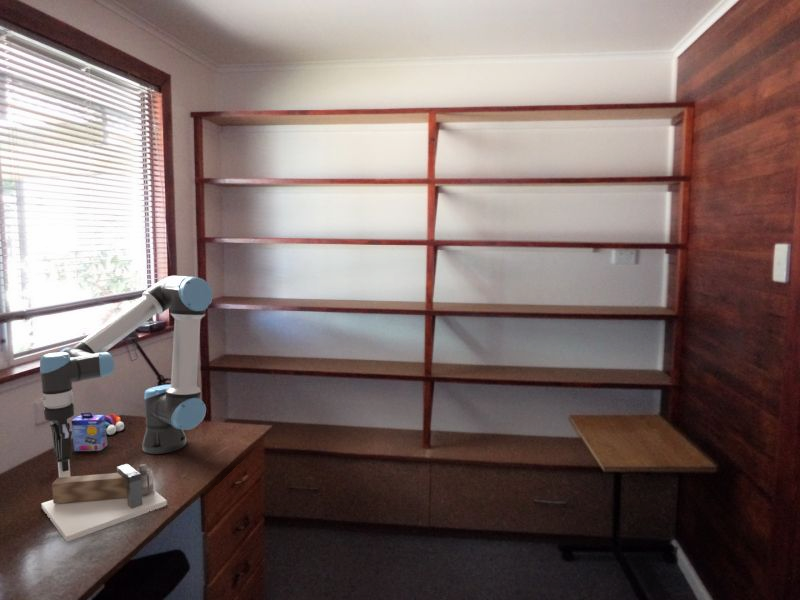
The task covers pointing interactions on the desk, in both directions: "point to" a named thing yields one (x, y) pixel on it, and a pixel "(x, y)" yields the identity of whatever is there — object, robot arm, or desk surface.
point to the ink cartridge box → (89, 432)
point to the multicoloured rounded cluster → (113, 424)
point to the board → (96, 513)
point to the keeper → (131, 485)
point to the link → (98, 486)
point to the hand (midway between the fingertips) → (65, 479)
